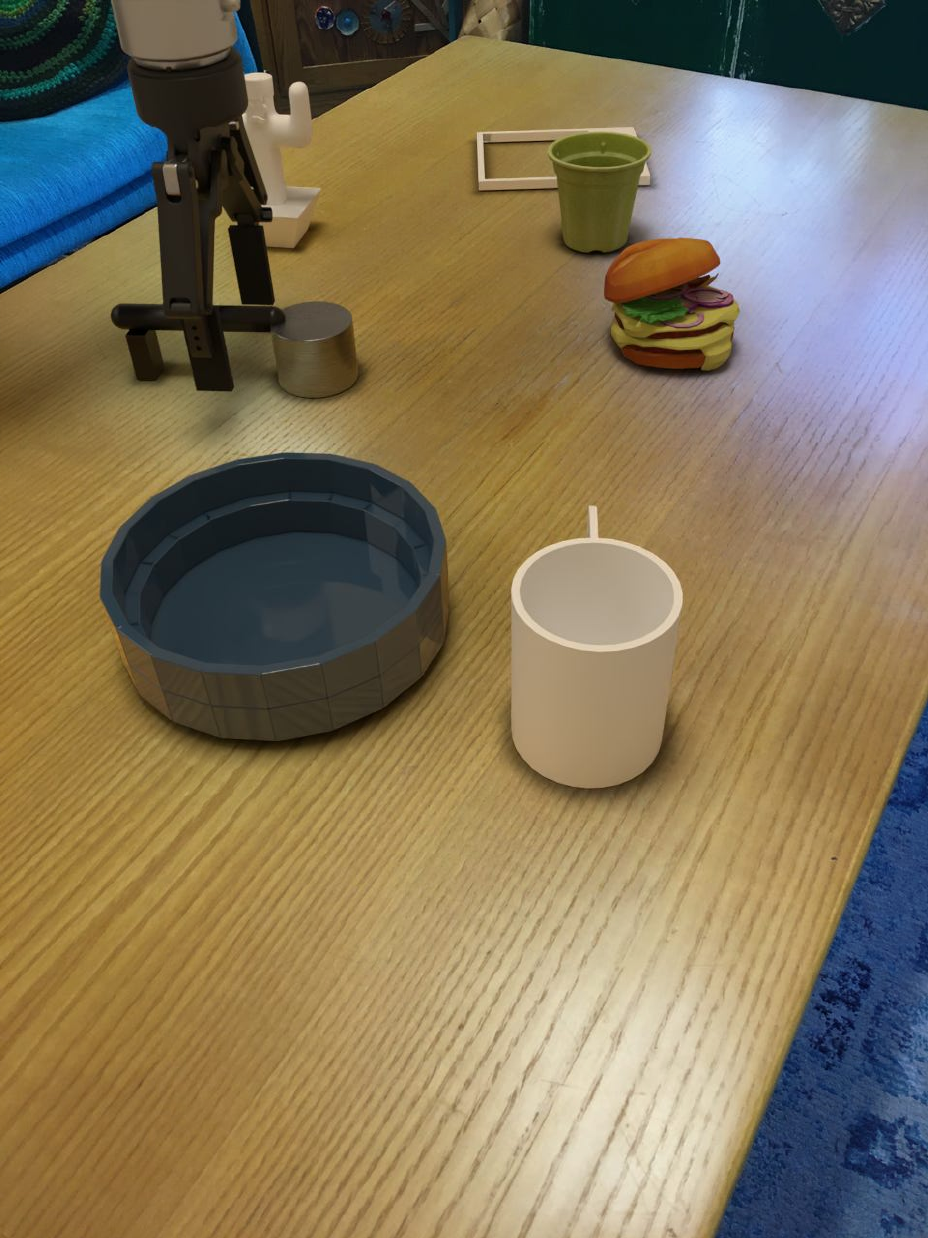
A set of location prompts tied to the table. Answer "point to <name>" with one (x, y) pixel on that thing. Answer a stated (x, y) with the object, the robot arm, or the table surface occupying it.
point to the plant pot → (597, 187)
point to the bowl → (278, 594)
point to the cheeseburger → (670, 305)
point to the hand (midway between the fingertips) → (238, 343)
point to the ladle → (301, 333)
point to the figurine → (280, 157)
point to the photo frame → (535, 136)
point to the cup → (592, 658)
